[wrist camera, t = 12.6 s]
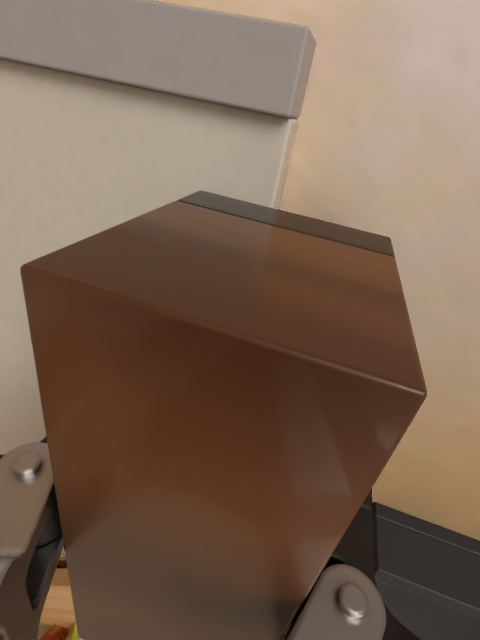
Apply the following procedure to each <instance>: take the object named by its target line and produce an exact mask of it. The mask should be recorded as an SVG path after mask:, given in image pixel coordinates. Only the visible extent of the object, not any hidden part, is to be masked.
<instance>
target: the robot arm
mask: <svg viewBox="0 0 480 640" xmlns="http://www.w3.org/2000/svg"><path fill="white" fill-rule="evenodd" d="M371 495H372V488H371V490H370V492H369V493H368V495H367V497H366V498H365V500H364V502H363V503H362V505H361V507H360V508H359V510H358V512H357V513H356V515H355V517H354V518H353V520H352V522H351V523H350V525H349V527H348V528H347V530H346V532H345V533H344V535H343V537H342V539H341V540H340V542H339V544H338V545H337V547H336V549H335V550H334V552H333V554H332V555H331V557H330V559H329V560H328V562H327V564H326V565H325V567H324V569H323V570H322V572H321V574H320V575H319V577H318V579H317V580H316V582H315V584H314V585H313V587H312V589H311V590H310V592H309V594H308V595H307V597H306V599H305V600H304V602H303V604H302V605H301V607H300V609H299V610H298V612H297V614H296V615H295V617H294V619H293V620H292V624H291V625H290V627H289V629H288V631H287V633H286V634H285V636H284V638H283V640H421V639H419V638H418V637H417V636H416V635H414V634H413V633H412V632H411V631H409V630H408V629H407V628H406V627H405V626H403V625H402V624H401V623H400V622H399V621H398V620H397V619H396V618H395V617H394V616H393V615H392V613H391V612H390V611H389V609H388V608H387V606H386V605H385V603H384V601H383V600H382V598H381V595H380V593H379V591H378V588H377V586H376V582H375V577H374V553H373V514H372V497H371ZM63 546H64V544H63V537H62V531H61V525H60V519H59V512H58V506H57V500H56V493H55V487H54V481H53V474H52V468H51V462H50V455H49V449H48V443H47V437H45V438H43V439H42V440H41V441H40V442H34V443H28V444H24V445H21V446H18V447H16V448H14V449H12V450H11V451H9V452H8V453H6V454H5V455H0V640H37V639H38V632H39V623H40V618H41V614H42V610H43V607H44V604H45V601H46V598H47V595H48V592H49V589H50V586H51V582H52V579H53V576H54V573H55V570H56V567H57V564H58V561H59V558H60V555H61V552H62V549H63Z"/></svg>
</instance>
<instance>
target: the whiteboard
mask: <svg viewBox="0 0 480 640" xmlns="http://www.w3.org/2000/svg"><path fill="white" fill-rule="evenodd" d="M315 45H316V40H315V38H314V36H313V34H312V33H311V31H310V29H309V28H308V27H307V26H304V25H298V24H292V23H286V22H280V21H274V20H267V19H261V18H255V17H249V16H243V15H237V14H231V13H225V12H219V11H213V10H207V9H201V8H195V7H189V6H183V5H177V4H170V3H164V2H158V1H152V0H0V455H5V454H6V453H8V452H9V451H11V450H12V449H14V448H16V447H18V446H21V445H24V444H28V443H34V442H40V441H41V440H42V439H43V438H45V437H46V430H45V424H44V418H43V411H42V405H41V399H40V392H39V386H38V380H37V374H36V367H35V361H34V355H33V348H32V342H31V336H30V329H29V323H28V317H27V311H26V304H25V298H24V292H23V285H22V279H21V273H20V268H21V266H22V265H23V264H25V263H28V262H30V261H32V260H35V259H37V258H40V257H42V256H44V255H47V254H49V253H51V252H54V251H56V250H59V249H61V248H63V247H66V246H68V245H71V244H73V243H75V242H78V241H80V240H83V239H85V238H87V237H90V236H92V235H95V234H97V233H99V232H102V231H104V230H107V229H109V228H111V227H114V226H116V225H119V224H121V223H123V222H126V221H128V220H131V219H133V218H135V217H138V216H140V215H142V214H145V213H147V212H150V211H152V210H154V209H157V208H159V207H162V206H164V205H166V204H169V203H171V202H174V201H177V200H178V199H181V198H183V197H185V196H188V195H190V194H193V193H195V192H197V191H200V190H202V191H206V192H210V193H214V194H218V195H222V196H226V197H230V198H234V199H238V200H242V201H246V202H250V203H254V204H258V205H262V206H266V207H270V208H274V209H278V208H279V203H280V199H281V194H282V190H283V186H284V181H285V177H286V172H287V168H288V164H289V159H290V155H291V150H292V146H293V141H294V137H295V133H296V128H297V124H298V122H297V119H295V118H298V117H299V116H300V111H301V107H302V102H303V98H304V94H305V89H306V85H307V80H308V76H309V71H310V67H311V63H312V58H313V54H314V49H315Z"/></svg>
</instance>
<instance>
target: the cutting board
mask: <svg viewBox="0 0 480 640" xmlns="http://www.w3.org/2000/svg"><path fill="white" fill-rule="evenodd" d="M37 640H83V639H81V638H79V636H78V632H77V626H76V619H75V613H74V607H73V600H72V594H71V588H70V582H69V575H68V569H67V568H56V570H55V573H54V576H53V579H52V582H51V586H50V589H49V592H48V595H47V598H46V601H45V604H44V607H43V610H42V614H41V618H40V623H39V632H38V639H37Z"/></svg>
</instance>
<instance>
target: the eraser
mask: <svg viewBox="0 0 480 640" xmlns="http://www.w3.org/2000/svg"><path fill="white" fill-rule="evenodd" d="M20 273H21V279H22V285H23V292H24V298H25V304H26V311H27V317H28V323H29V329H30V336H31V342H32V348H33V355H34V361H35V367H36V374H37V380H38V386H39V392H40V399H41V405H42V411H43V418H44V424H45V430H46V437H47V443H48V449H49V455H50V462H51V468H52V474H53V481H54V487H55V493H56V500H57V506H58V512H59V519H60V525H61V531H62V537H63V544H64V550H65V556H66V563H67V569H68V575H69V582H70V588H71V594H72V600H73V607H74V613H75V619H76V626H77V632H78V636H79V638H81V639H83V640H281V639H282V637H283V635H284V634H285V632H286V630H287V629H288V627H289V625H290V624H291V622H292V620H293V619H294V617H295V615H296V614H297V612H298V610H299V609H300V607H301V605H302V604H303V602H304V600H305V599H306V597H307V595H308V594H309V592H310V590H311V589H312V587H313V585H314V584H315V582H316V580H317V579H318V577H319V575H320V574H321V572H322V570H323V569H324V567H325V565H326V564H327V562H328V560H329V559H330V557H331V555H332V554H333V552H334V550H335V549H336V547H337V545H338V544H339V542H340V540H341V539H342V537H343V535H344V533H345V532H346V530H347V528H348V527H349V525H350V523H351V522H352V520H353V518H354V517H355V515H356V513H357V512H358V510H359V508H360V507H361V505H362V503H363V502H364V500H365V498H366V497H367V495H368V493H369V492H370V490H371V488H372V487H373V485H374V483H375V482H376V480H377V478H378V477H379V475H380V473H381V472H382V470H383V468H384V467H385V465H386V463H387V462H388V460H389V458H390V457H391V455H392V453H393V452H394V450H395V448H396V447H397V445H398V443H399V442H400V440H401V438H402V437H403V435H404V433H405V431H406V430H407V428H408V426H409V425H410V423H411V421H412V420H413V418H414V416H415V415H416V413H417V411H418V410H419V408H420V406H421V405H422V403H423V401H424V400H425V398H426V396H427V390H426V386H425V381H424V377H423V373H422V369H421V365H420V361H419V356H418V352H417V348H416V344H415V340H414V336H413V331H412V327H411V323H410V319H409V315H408V310H407V306H406V302H405V298H404V294H403V290H402V285H401V281H400V277H399V273H398V269H397V264H396V260H395V256H394V252H393V247H392V243H391V239H390V238H389V237H385V236H381V235H377V234H373V233H369V232H365V231H361V230H357V229H353V228H349V227H345V226H342V225H338V224H334V223H330V222H326V221H322V220H318V219H314V218H310V217H306V216H302V215H298V214H294V213H290V212H286V211H282V210H278V209H274V208H270V207H266V206H262V205H258V204H254V203H250V202H246V201H242V200H238V199H234V198H230V197H226V196H222V195H218V194H214V193H210V192H206V191H202V190H200V191H197V192H195V193H193V194H190V195H188V196H185V197H183V198H181V199H178V200H177V201H174V202H171V203H169V204H166V205H164V206H162V207H159V208H157V209H154V210H152V211H150V212H147V213H145V214H142V215H140V216H138V217H135V218H133V219H131V220H128V221H126V222H123V223H121V224H119V225H116V226H114V227H111V228H109V229H107V230H104V231H102V232H99V233H97V234H95V235H92V236H90V237H87V238H85V239H83V240H80V241H78V242H75V243H73V244H71V245H68V246H66V247H63V248H61V249H59V250H56V251H54V252H51V253H49V254H47V255H44V256H42V257H40V258H37V259H35V260H32V261H30V262H28V263H25V264H23V265H22V266H21V268H20Z"/></svg>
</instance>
